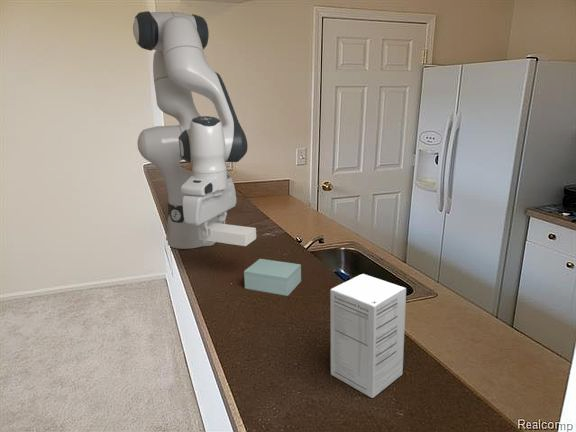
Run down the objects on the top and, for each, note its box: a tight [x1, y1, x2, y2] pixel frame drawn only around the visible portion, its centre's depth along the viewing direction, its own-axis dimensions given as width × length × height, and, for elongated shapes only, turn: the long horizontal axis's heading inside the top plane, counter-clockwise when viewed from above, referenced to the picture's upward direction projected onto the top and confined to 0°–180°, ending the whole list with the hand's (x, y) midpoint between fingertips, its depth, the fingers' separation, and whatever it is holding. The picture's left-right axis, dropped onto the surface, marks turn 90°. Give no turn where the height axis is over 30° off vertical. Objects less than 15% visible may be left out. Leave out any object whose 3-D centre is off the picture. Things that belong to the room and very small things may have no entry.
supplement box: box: [329, 273, 407, 399], centre depth 74 cm, size 10×9×17 cm
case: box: [243, 258, 302, 297], centre depth 112 cm, size 9×12×5 cm
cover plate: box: [198, 222, 257, 247], centre depth 114 cm, size 6×14×3 cm, turn 67°
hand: (213, 231), depth 116 cm, fingers closed on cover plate, 6 cm apart
